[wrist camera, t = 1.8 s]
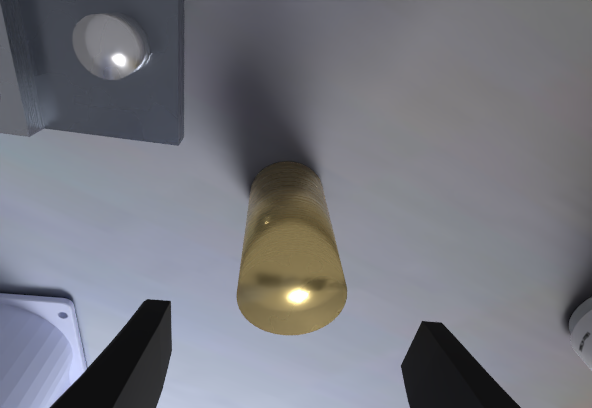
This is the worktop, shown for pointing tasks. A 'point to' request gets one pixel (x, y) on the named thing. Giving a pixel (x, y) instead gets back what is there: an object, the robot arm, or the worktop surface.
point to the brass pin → (289, 254)
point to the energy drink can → (582, 331)
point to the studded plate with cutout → (93, 68)
